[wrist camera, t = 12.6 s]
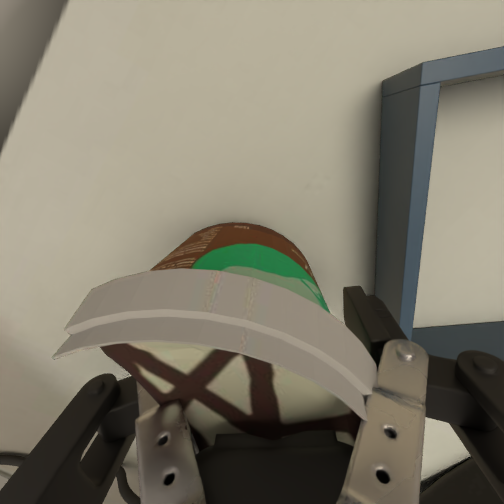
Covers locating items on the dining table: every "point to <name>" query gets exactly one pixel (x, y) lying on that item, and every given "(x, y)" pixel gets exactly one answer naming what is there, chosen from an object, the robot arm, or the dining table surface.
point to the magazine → (461, 487)
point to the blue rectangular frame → (420, 196)
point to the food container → (232, 338)
